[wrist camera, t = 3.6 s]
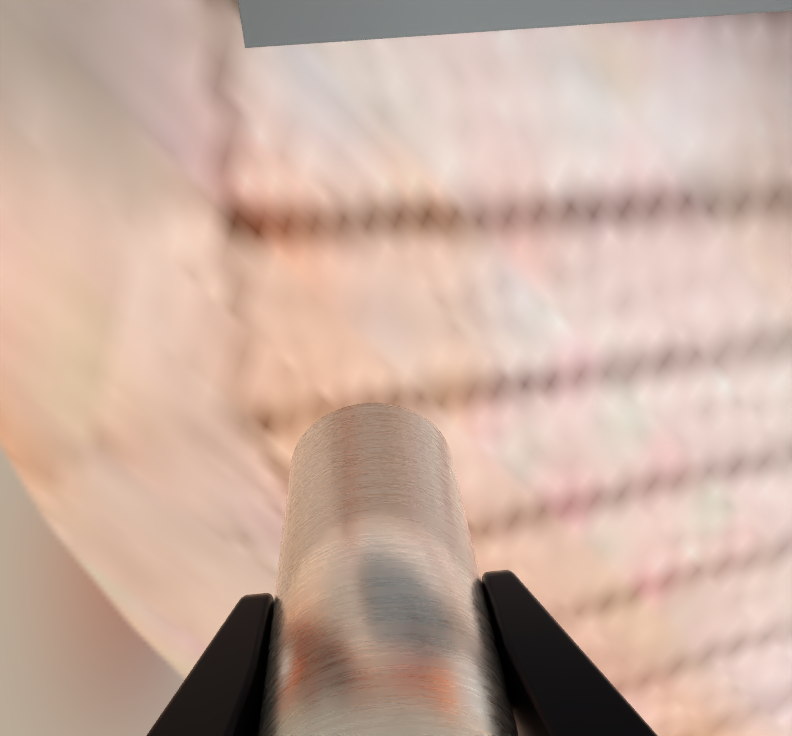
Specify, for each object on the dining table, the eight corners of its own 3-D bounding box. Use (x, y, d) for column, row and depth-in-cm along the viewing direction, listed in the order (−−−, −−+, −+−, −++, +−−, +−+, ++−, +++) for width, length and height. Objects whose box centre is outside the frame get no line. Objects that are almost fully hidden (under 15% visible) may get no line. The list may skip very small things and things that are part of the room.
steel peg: (451, 395, 11) (693, 1273, 3) (453, 525, 13) (628, 1353, 5) (279, 410, 11) (120, 1351, 3) (301, 539, 13) (229, 1405, 5)
